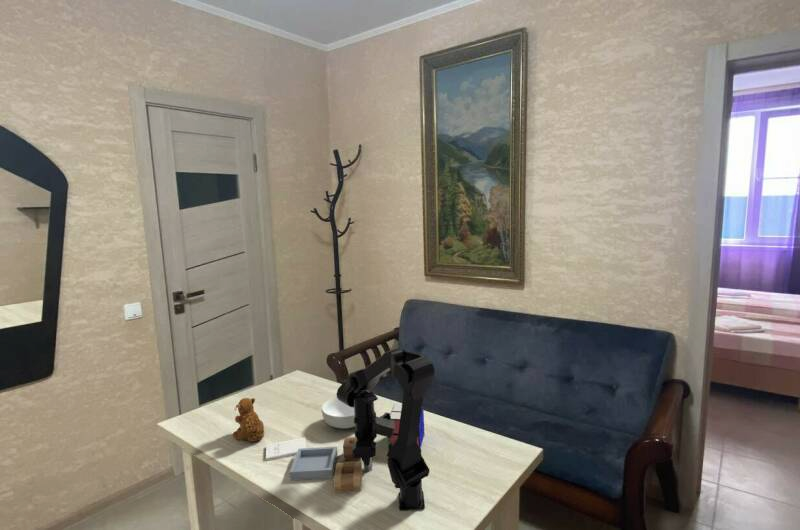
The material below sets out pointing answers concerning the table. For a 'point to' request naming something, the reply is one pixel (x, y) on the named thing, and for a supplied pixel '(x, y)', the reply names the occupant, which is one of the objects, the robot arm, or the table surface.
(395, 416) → the puzzle cube
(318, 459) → the tray
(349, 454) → the block
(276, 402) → the table surface
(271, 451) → the external hard drive
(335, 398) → the cereal bowl
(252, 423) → the stuffed squirrel
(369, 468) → the cylinder
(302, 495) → the table surface
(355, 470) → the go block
